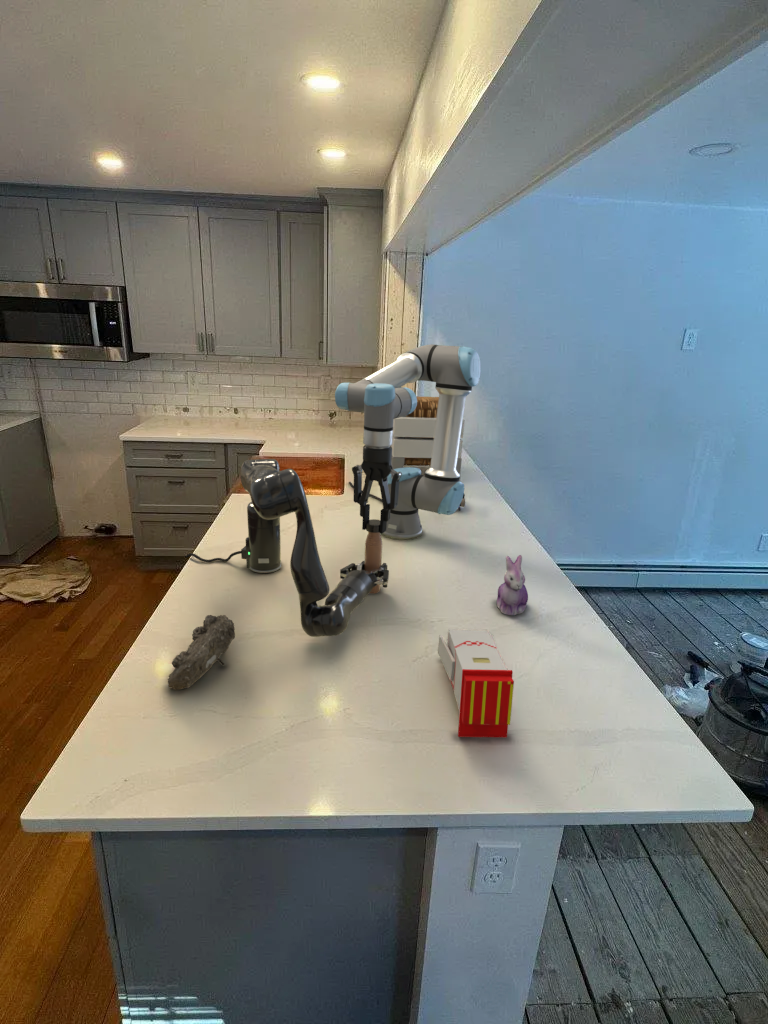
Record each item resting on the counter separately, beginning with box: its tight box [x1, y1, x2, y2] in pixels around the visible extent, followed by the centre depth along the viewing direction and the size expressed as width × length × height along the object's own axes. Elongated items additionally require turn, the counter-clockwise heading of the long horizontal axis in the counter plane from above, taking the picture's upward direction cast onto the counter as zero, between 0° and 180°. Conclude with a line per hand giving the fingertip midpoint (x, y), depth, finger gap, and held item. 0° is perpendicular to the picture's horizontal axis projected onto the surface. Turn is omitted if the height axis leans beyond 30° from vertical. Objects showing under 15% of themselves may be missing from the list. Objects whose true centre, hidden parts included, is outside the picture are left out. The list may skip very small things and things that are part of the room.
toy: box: [437, 628, 515, 738], centre depth 117 cm, size 12×13×30 cm
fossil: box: [167, 614, 236, 691], centre depth 122 cm, size 22×10×15 cm
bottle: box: [364, 531, 383, 594], centre depth 156 cm, size 5×5×20 cm
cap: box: [365, 518, 380, 533], centre depth 153 cm, size 5×5×2 cm
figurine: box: [496, 554, 529, 616], centre depth 150 cm, size 9×10×15 cm
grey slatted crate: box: [391, 395, 465, 482], centre depth 268 cm, size 34×33×41 cm
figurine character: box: [457, 493, 466, 511], centre depth 229 cm, size 7×8×15 cm
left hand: (376, 564), depth 160 cm, fingers closed on bottle, 4 cm apart
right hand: (374, 529), depth 154 cm, fingers closed on cap, 4 cm apart
